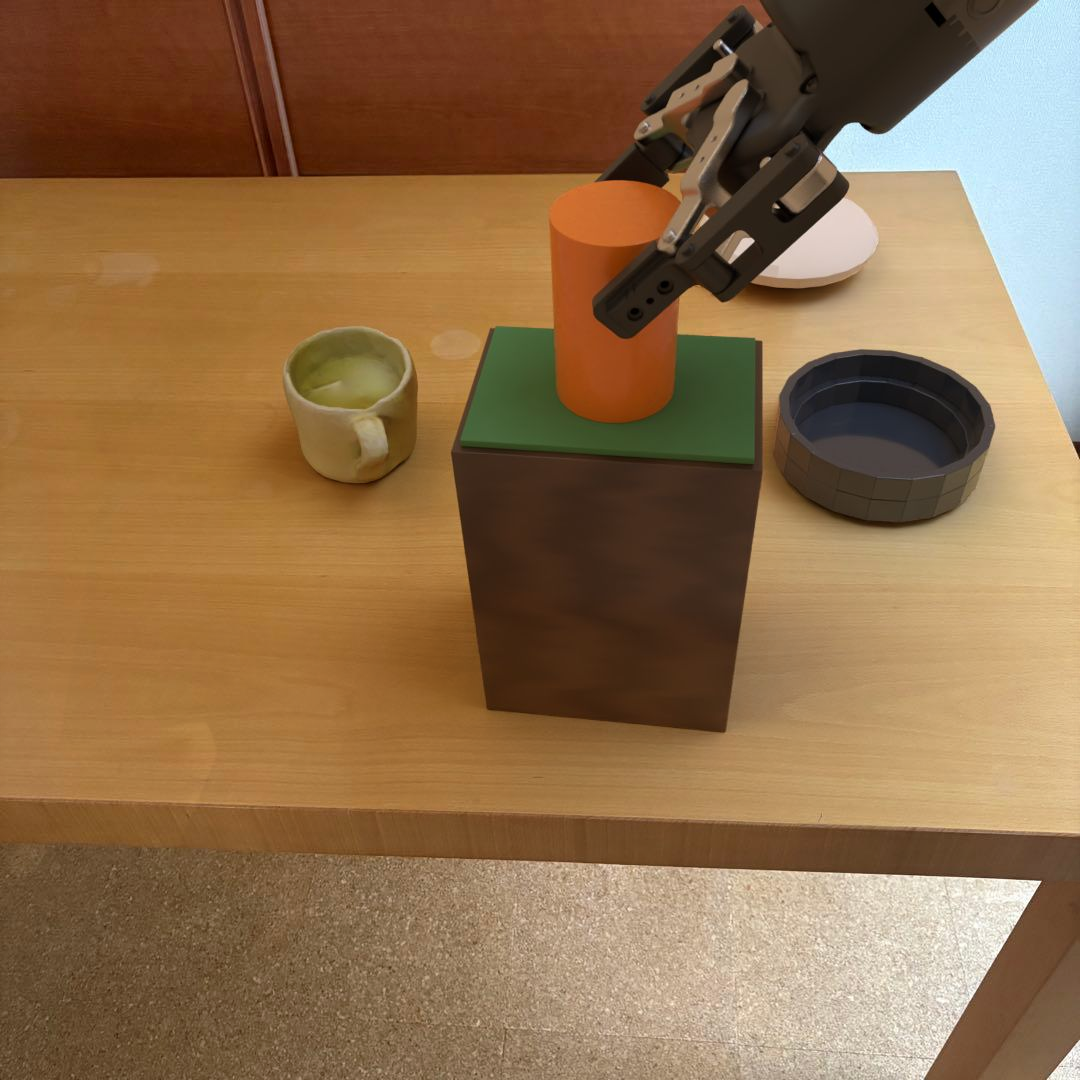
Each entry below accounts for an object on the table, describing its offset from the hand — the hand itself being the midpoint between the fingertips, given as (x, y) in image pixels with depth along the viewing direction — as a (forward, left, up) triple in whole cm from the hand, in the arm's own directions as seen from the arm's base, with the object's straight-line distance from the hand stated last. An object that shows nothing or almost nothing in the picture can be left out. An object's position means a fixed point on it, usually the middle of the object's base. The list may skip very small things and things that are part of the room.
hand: (599, 267), depth 45 cm
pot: (-18, -20, -27) cm, 38 cm away
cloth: (-1, 0, -7) cm, 7 cm away
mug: (+19, -16, -27) cm, 37 cm away
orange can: (-1, 0, -6) cm, 6 cm away
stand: (-1, 0, -27) cm, 27 cm away
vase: (-12, -47, -27) cm, 56 cm away
